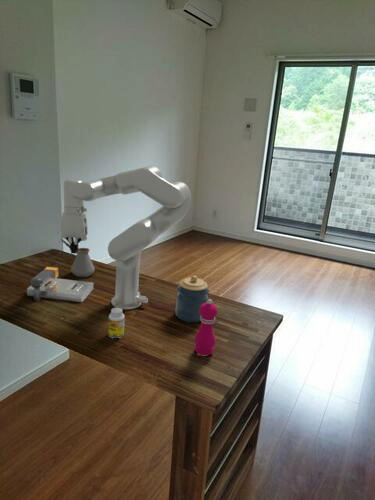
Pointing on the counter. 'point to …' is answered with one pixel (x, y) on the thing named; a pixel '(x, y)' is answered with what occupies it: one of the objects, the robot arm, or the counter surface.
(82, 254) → the coffee pot
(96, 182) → the robot arm
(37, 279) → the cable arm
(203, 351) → the pepper mill
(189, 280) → the canister
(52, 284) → the panel
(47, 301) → the counter surface
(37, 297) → the pivot post
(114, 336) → the supplement bottle
